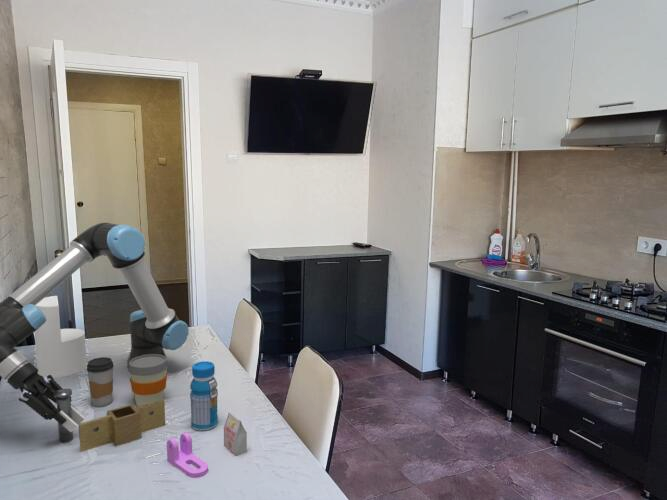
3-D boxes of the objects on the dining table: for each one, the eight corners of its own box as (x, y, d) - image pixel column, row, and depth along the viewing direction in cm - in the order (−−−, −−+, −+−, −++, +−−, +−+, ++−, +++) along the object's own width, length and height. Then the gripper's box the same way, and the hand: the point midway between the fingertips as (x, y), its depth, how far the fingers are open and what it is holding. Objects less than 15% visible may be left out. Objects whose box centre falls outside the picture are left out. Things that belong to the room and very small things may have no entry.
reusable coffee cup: (176, 398, 175) (175, 357, 172) (149, 413, 164) (147, 370, 161) (149, 390, 180) (148, 351, 178) (121, 405, 169) (119, 363, 166)
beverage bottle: (194, 434, 152) (192, 372, 148) (188, 421, 159) (186, 362, 156) (221, 428, 155) (220, 367, 152) (214, 416, 163) (213, 358, 160)
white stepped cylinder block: (37, 381, 186) (31, 308, 182) (37, 365, 201) (32, 298, 196) (88, 372, 195) (84, 303, 190) (85, 357, 210) (81, 293, 205)
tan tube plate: (160, 419, 160) (159, 396, 158) (169, 428, 154) (168, 404, 153) (77, 445, 144) (75, 419, 143) (84, 456, 139) (82, 430, 137)
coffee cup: (120, 399, 173) (118, 358, 170) (102, 410, 165) (100, 367, 163) (101, 395, 175) (99, 355, 173) (83, 406, 168) (80, 363, 165)
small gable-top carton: (235, 441, 148) (234, 410, 146) (246, 451, 143) (246, 419, 141) (224, 445, 146) (223, 414, 144) (235, 456, 141) (235, 423, 139)
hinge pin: (72, 433, 150) (69, 387, 148) (76, 440, 147) (73, 392, 144) (55, 438, 147) (52, 391, 145) (59, 445, 144) (55, 397, 141)
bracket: (167, 461, 138) (166, 438, 137) (184, 453, 142) (184, 430, 141) (194, 480, 129) (193, 456, 128) (212, 471, 134) (211, 447, 132)
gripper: (26, 368, 152) (83, 419, 155) (-11, 392, 136) (54, 448, 139) (42, 351, 151) (99, 403, 154) (7, 374, 135) (72, 431, 138)
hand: (78, 425), depth 146 cm, fingers closed on hinge pin, 3 cm apart
